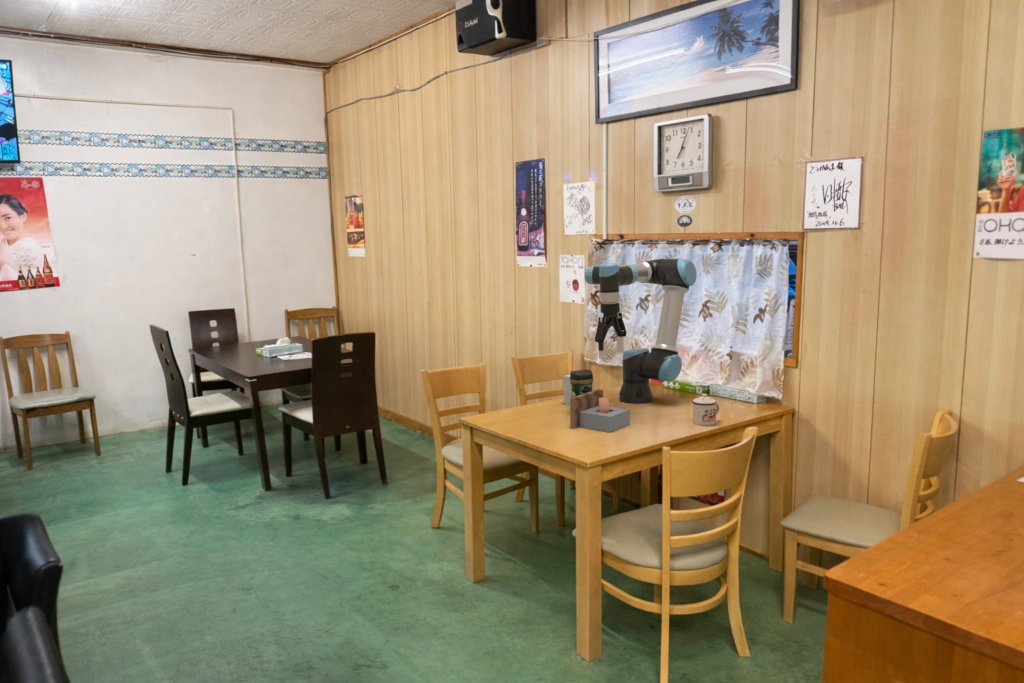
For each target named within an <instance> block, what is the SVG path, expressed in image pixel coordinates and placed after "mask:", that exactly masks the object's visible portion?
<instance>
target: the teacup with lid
mask: <svg viewBox="0 0 1024 683" xmlns="http://www.w3.org/2000/svg"><path fill="white" fill-rule="evenodd" d="M719 412H720V405H719V403H717V399H714V398H712V397H710V396H708V394H707V393H702V394H701V396H699V397H696V398H693V400H692V423H693V424H694V425H698V426H703V427H707V426H709V427H710V426H713V425H716V422H717V415H718V414H719Z"/></svg>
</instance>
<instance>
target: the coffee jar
mask: <svg viewBox="0 0 1024 683" xmlns="http://www.w3.org/2000/svg"><path fill="white" fill-rule="evenodd" d="M569 375H570V382H571V386H572V395H571V398H572V397H575V396H578V395H581V394H585V393H588V392H591V391H593V383H594V376H593V372H592V370H589V369H578V370H572V371H571V370H570V374H569Z"/></svg>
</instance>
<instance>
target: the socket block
mask: <svg viewBox="0 0 1024 683" xmlns="http://www.w3.org/2000/svg"><path fill="white" fill-rule="evenodd" d="M630 422H631V410H630V409H629V408H628V409H627V408H621V407H620V408H619V407H616V406H609V413H602V412H599V406H596V407H593V408H590V409H587V410H584V411H581V412H580V427H579V428H584V429H587V430H588V429H589V430H594V431H600V432H606V433H613V432H615V431H618V430H620V429H622V428H625V427H627V426H630V425H631V423H630Z"/></svg>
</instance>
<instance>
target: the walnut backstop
mask: <svg viewBox="0 0 1024 683" xmlns="http://www.w3.org/2000/svg"><path fill="white" fill-rule="evenodd" d="M601 397H604V389H601V388H600V389H599V388H598V389H595V390H592V391H591V392H588V393H585V394H581V395H578V396H575V397H572V398H570V406H569V412H570V413H569V414H570V415H569V416H570V417H569V418H570V419H569V420H570V422H569V424H570V429H578V428H581V427H580V412H581V411H584V410H587V409H590V408H593V407H596V406H599V398H601Z"/></svg>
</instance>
